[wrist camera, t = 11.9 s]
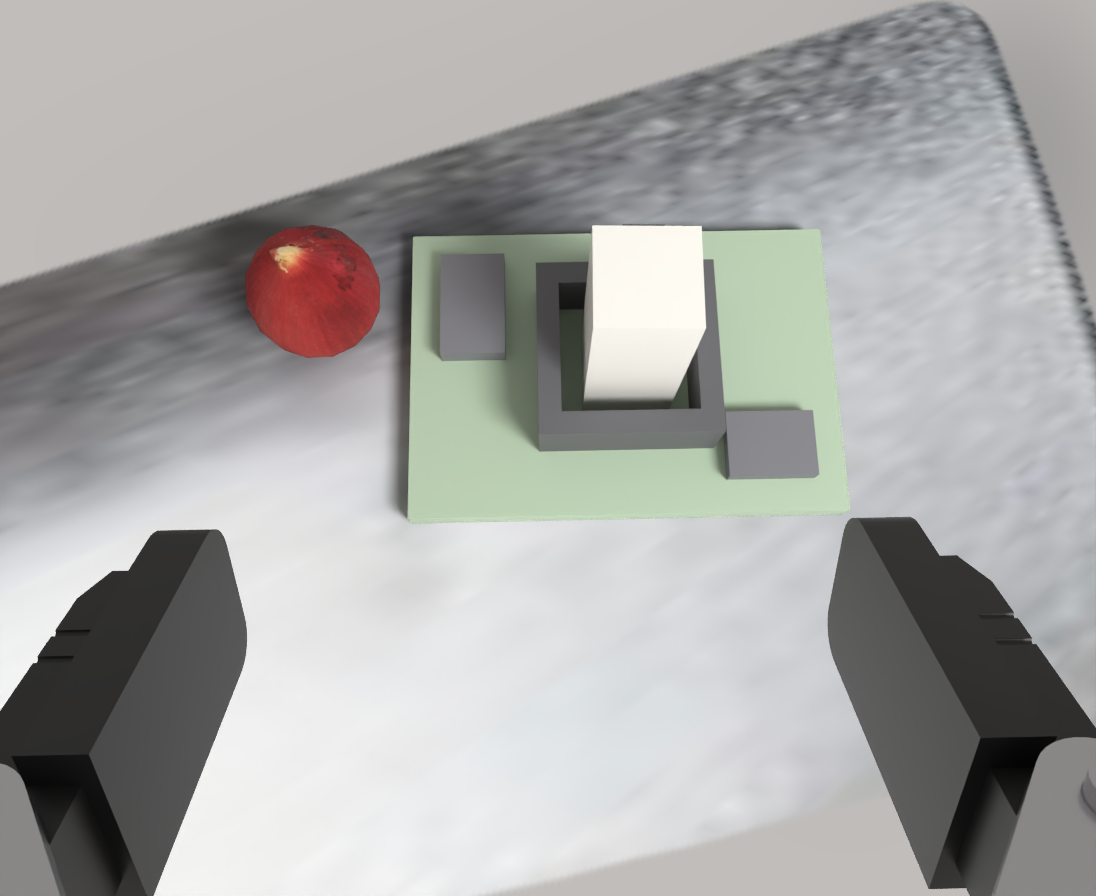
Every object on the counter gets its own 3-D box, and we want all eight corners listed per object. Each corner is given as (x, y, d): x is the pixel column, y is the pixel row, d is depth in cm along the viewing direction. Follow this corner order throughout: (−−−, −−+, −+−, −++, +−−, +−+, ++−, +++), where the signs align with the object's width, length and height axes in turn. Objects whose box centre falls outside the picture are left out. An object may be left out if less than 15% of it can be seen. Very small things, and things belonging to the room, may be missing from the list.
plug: (582, 409, 41) (593, 327, 31) (581, 317, 42) (592, 210, 32) (668, 410, 41) (705, 328, 31) (665, 318, 42) (701, 211, 32)
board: (411, 523, 41) (396, 506, 36) (416, 248, 44) (403, 204, 40) (841, 514, 41) (874, 496, 37) (812, 240, 44) (839, 197, 40)
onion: (330, 248, 44) (284, 157, 36) (416, 315, 43) (388, 236, 35) (250, 332, 43) (185, 257, 35) (337, 403, 42) (290, 341, 34)
